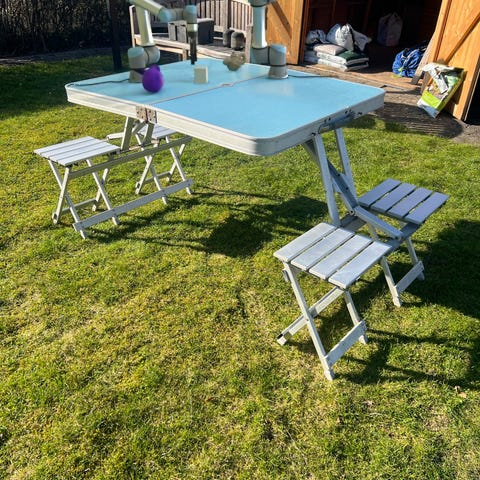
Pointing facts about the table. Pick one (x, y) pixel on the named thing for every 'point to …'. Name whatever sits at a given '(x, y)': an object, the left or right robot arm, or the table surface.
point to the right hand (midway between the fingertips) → (265, 29)
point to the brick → (201, 75)
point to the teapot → (234, 61)
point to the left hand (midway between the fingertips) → (194, 63)
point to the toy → (152, 79)
